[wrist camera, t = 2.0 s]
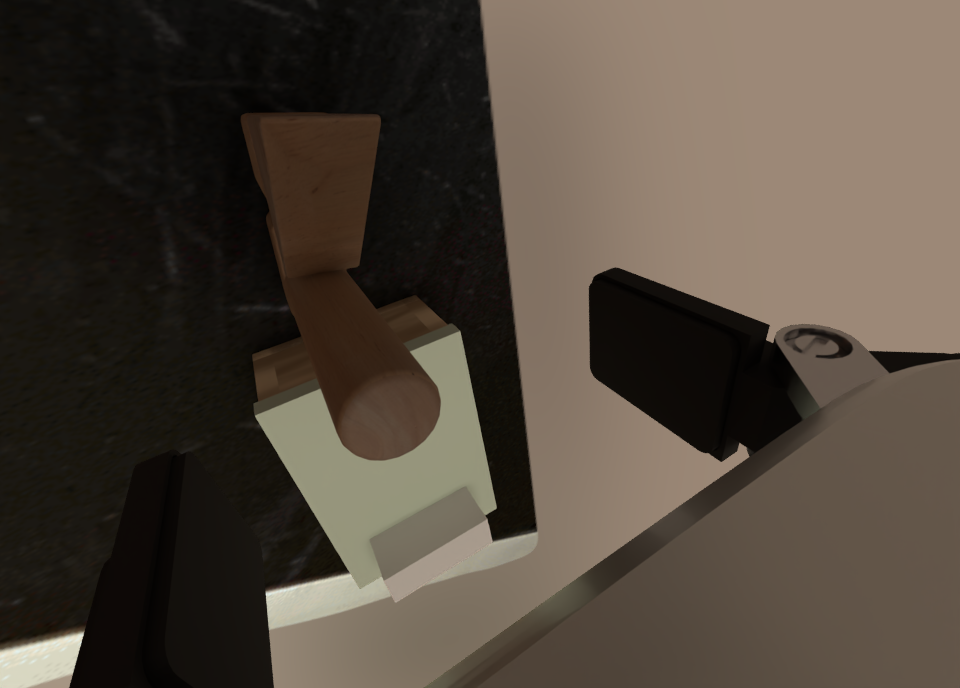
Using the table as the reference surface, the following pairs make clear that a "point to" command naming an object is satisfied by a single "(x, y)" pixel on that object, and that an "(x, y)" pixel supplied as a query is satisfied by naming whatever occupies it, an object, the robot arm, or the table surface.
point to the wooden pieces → (338, 276)
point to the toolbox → (292, 361)
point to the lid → (393, 477)
